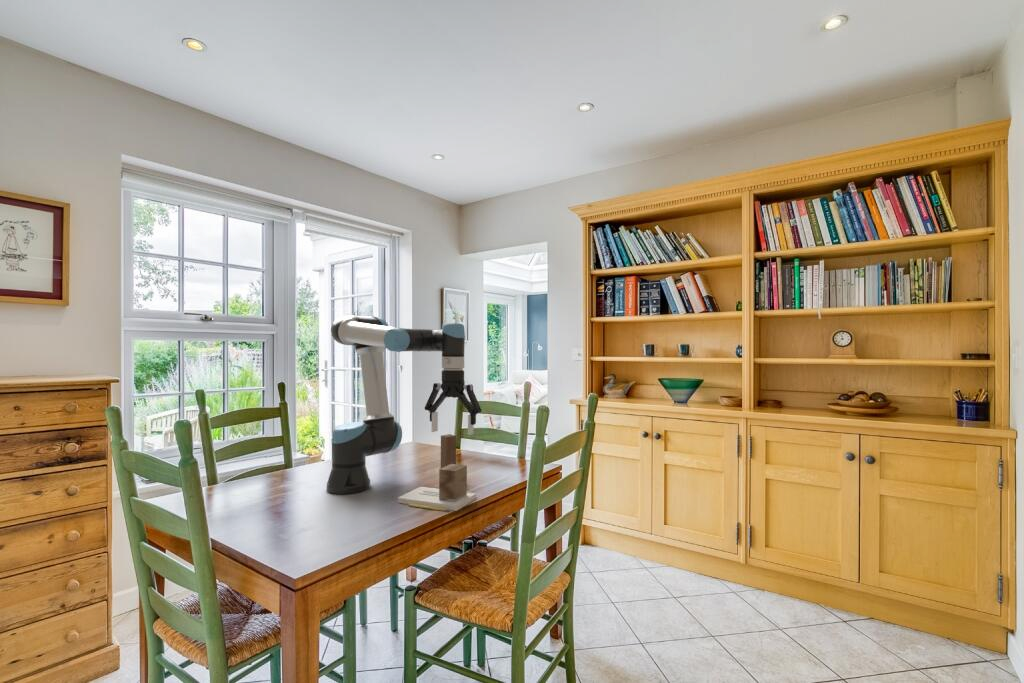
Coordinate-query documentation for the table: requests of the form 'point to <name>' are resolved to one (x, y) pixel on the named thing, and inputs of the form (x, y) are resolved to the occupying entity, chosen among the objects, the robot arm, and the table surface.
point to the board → (433, 499)
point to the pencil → (429, 507)
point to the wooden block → (448, 450)
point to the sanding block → (452, 482)
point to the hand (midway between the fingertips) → (452, 433)
